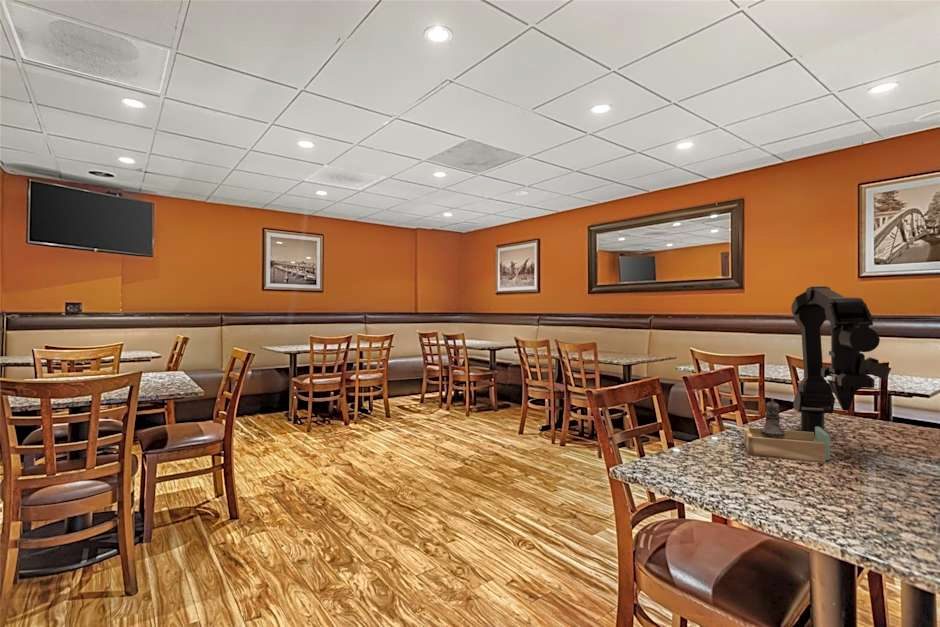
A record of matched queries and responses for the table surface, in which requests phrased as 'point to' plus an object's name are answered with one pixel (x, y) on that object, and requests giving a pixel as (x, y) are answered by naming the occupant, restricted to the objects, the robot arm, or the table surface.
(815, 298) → the robot arm
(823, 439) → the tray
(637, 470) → the table surface
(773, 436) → the grey tall tapered piece
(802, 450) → the dock
